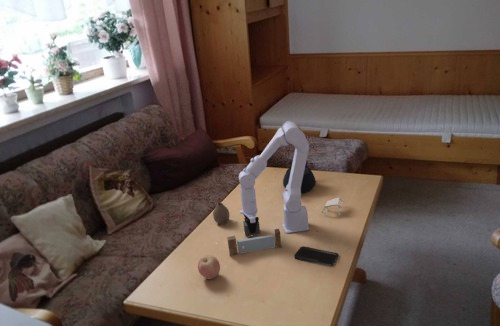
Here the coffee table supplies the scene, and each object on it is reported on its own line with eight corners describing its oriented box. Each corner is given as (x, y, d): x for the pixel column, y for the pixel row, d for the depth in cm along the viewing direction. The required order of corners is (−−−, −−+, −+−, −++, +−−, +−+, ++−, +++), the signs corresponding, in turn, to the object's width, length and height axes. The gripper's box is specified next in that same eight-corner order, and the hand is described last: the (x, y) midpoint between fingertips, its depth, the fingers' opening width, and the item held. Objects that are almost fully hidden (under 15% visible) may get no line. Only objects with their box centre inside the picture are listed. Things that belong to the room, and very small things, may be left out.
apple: (196, 274, 164) (193, 255, 161) (216, 267, 167) (214, 249, 164) (203, 286, 158) (200, 266, 155) (224, 279, 160) (221, 260, 157)
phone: (301, 245, 174) (339, 253, 167) (301, 248, 174) (339, 256, 167) (293, 256, 168) (332, 265, 160) (293, 259, 168) (332, 268, 161)
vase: (228, 226, 194) (225, 207, 191) (212, 226, 196) (209, 207, 192) (231, 218, 200) (229, 200, 197) (216, 218, 202) (214, 200, 199)
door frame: (280, 244, 177) (278, 228, 175) (281, 247, 175) (280, 231, 173) (229, 252, 175) (227, 237, 173) (229, 256, 173) (227, 240, 170)
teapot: (308, 201, 208) (307, 177, 204) (276, 198, 214) (274, 174, 210) (322, 179, 229) (321, 156, 225) (292, 176, 235) (291, 154, 231)
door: (274, 245, 177) (273, 234, 175) (275, 248, 174) (274, 237, 173) (238, 251, 175) (236, 240, 173) (238, 254, 173) (237, 243, 171)
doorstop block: (258, 229, 190) (257, 218, 188) (260, 234, 186) (259, 223, 184) (244, 231, 189) (243, 221, 187) (245, 236, 185) (244, 226, 183)
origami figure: (339, 219, 191) (338, 209, 189) (320, 216, 195) (320, 205, 193) (349, 207, 200) (349, 197, 198) (331, 204, 204) (331, 194, 203)
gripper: (236, 193, 188) (239, 222, 193) (241, 209, 175) (244, 240, 180) (253, 191, 189) (256, 220, 194) (259, 207, 175) (262, 237, 180)
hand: (251, 229), depth 187 cm, fingers closed on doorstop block, 4 cm apart
